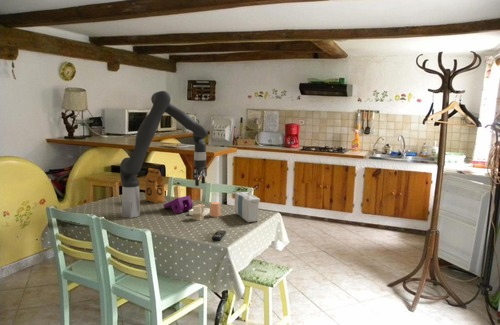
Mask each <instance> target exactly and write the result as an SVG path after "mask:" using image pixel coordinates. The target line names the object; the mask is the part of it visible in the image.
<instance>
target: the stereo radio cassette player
mask: <svg viewBox="0 0 500 325" xmlns="http://www.w3.org/2000/svg"><path fill="white" fill-rule="evenodd" d="M256 188H258V185H257V186H256V187H254V188H253V189H251V191H250V192H248V191H240V192H238V191H237V192H234V213H236V214H237V216H239V217H240V218H242V219H243V220H244V221H246V222H247V223H252V222H254V223H255V222H256V221H257V222H258V221H259V205H260V204H259V202H260V201H261V199H260V198H259V197H258V196H256V195H255V194H252V192H253V191H254V190H255V189H256Z"/></svg>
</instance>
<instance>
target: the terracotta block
mask: <svg viewBox="0 0 500 325" xmlns="http://www.w3.org/2000/svg"><path fill="white" fill-rule="evenodd" d="M221 212H222V202H218V201H217V202H216V201H213V202H211V203H210V213H209V214H210V217H213V218H219V217H220V216H221V215H222V213H221Z"/></svg>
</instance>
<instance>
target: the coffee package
mask: <svg viewBox="0 0 500 325" xmlns="http://www.w3.org/2000/svg"><path fill="white" fill-rule="evenodd" d="M147 170H148V172H147V174H146V177H145V180H144V184H145V185H144V188H145V191H144V193H145V194H144V195H145V201H148V202H150V203H153V204H162V203H164V202H165V185H164V183H165V182H164V179H163V176H162V174H161V172H160V169H157V168H151V167H149V168H148V169H147Z"/></svg>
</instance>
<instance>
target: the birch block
mask: <svg viewBox="0 0 500 325" xmlns="http://www.w3.org/2000/svg"><path fill="white" fill-rule="evenodd" d="M204 205H205V204H202V205H199V204H195V205H194V206H193V207H192V209H193V215H192V220H193V221H202V220H203V219H205V216H204V208H205V206H204Z"/></svg>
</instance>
